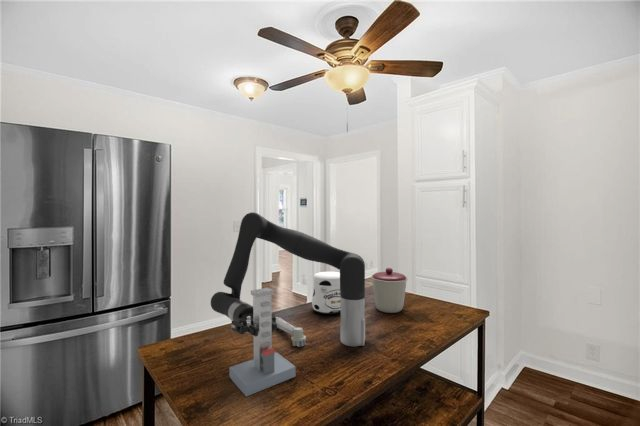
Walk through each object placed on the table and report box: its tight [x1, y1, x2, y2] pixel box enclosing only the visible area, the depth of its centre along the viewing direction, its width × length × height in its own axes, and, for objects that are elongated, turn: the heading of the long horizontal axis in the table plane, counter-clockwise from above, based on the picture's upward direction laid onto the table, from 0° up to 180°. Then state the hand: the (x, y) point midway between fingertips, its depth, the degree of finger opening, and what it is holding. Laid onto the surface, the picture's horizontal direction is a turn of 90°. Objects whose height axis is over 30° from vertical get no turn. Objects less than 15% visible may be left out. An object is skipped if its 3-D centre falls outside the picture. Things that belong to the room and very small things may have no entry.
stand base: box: [228, 347, 297, 397], centre depth 92 cm, size 16×12×10 cm
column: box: [250, 287, 275, 372], centre depth 91 cm, size 6×5×23 cm
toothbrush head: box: [275, 316, 307, 348], centre depth 122 cm, size 5×7×25 cm
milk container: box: [311, 271, 340, 315], centre depth 150 cm, size 17×17×18 cm
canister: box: [370, 267, 409, 314], centre depth 152 cm, size 18×18×21 cm
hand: (266, 330), depth 90 cm, fingers open, 5 cm apart
